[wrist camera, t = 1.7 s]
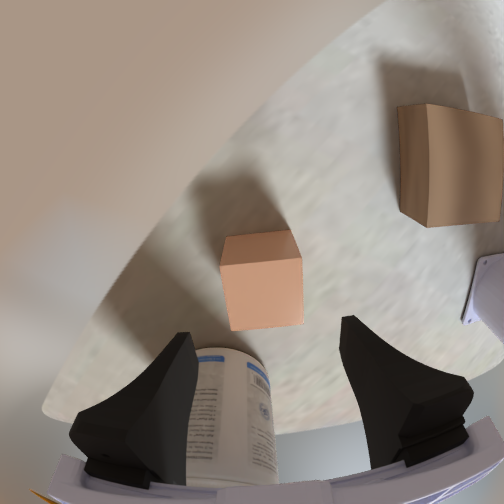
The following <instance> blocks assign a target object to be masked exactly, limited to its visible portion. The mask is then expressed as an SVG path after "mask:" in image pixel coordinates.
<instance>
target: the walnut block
mask: <svg viewBox="0 0 504 504" xmlns="http://www.w3.org/2000/svg"><path fill="white" fill-rule="evenodd" d="M397 112H398V124H399V140H400V174H401V185H400V212H402V213H403V214H405V215H407V216H408V217H410V218H412V219H413V220H415V221H417V222H418V223H420V224H421V225H423V226H425V227H426V228H430V227H441V226H452V225H463V224H475V223H486V222H498V221H499V219H500V211H501V202H502V190H503V172H504V136H503V120H502V119H499V118H495V117H491V116H488V115H483V114H479V113H475V112H471V111H466V110H461V109H456V108H451V107H445V106H439V105H433V104H417V105H408V106H400V107H397Z"/></svg>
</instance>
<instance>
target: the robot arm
mask: <svg viewBox="0 0 504 504" xmlns="http://www.w3.org/2000/svg"><path fill="white" fill-rule="evenodd" d="M479 320H482V321H483V322H484V323H485V324H486V325H487V326H488V328H489V329H490V330H491V331H492V332H493V333H494V334H495V335H496V336H497V337H498V339H499V340H500V341H501V342H502V343H503V344H504V253H501V254H495V255H490V256H485V257H481V258H479V259H478V262H477V266H476V271H475V275H474V280H473V284H472V288H471V292H470V295H469V299H468V303H467V306H466V310H465V313H464V316H463V319H462V324H463V325H467V324H470V323H473V322H476V321H479ZM339 351H340V355H341V359H342V362H343V366H344V369H345V371H346V374H347V377H348V379H349V382H350V384H351V387H352V389H353V392H354V394H355V397H356V399H357V402H358V405H359V408H360V412H361V416H362V420H363V424H364V429H365V434H366V439H367V444H368V450H369V456H370V464H371V470H369V471H365V472H361V473H357V474H353V475H349V476H344V477H339V478H334V479H329V480H323V481H320V480H312V481H302V482H293V483H284V484H271V485H252V486H232V487H226V488H207V487H191V486H186V452H187V435H188V424H189V418H190V413H191V408H192V404H193V399H194V395H195V390H196V386H197V381H198V371H199V361H198V358H197V354H196V351H195V348H194V345H193V341H192V338H191V334H190V332H181V333H177V334H176V335H175V337H174V338H173V339H172V340H171V341H170V342H169V344H168V345H167V346H166V347H165V348H164V350H163V351H162V352H161V353H160V354H159V355H158V357H157V358H156V359H155V360H154V361H153V362H152V363H151V364H150V365H149V366H148V367H147V368H146V369H145V370H144V371H143V372H142V373H141V374H140V375H139V376H138V377H137V378H136V379H135V380H133V381H132V382H131V383H130V384H128V385H127V386H126V387H124V388H123V389H122V390H120V391H119V392H117V393H116V394H114V395H113V396H111V397H109V398H108V399H106V400H104V401H102V402H101V403H99V404H97V405H95V406H92V407H90V408H88V409H86V410H83V411H81V412H79V413H78V414H77V417H76V419H75V421H74V423H73V425H72V428H71V429H70V432H69V436H70V438H71V440H72V442H73V443H74V444H75V445H76V446H77V447H78V448H79V449H80V450H81V451H82V452H83V453H84V454H85V455H86V456H87V457H88V459H87V462H84V461H82V460H80V459H78V458H74V457H71V456H68V455H65V454H62V455H61V457H60V459H59V462H58V464H57V467H56V469H55V472H54V474H53V477H52V479H51V482H50V485H49V487H48V490H47V494H48V495H50V496H51V497H53V498H54V499H56V500H57V501H59V502H60V503H62V504H438V503H440V502H442V501H444V500H445V499H447V498H449V497H451V496H453V495H455V494H457V493H458V492H460V491H462V490H464V489H466V488H467V487H469V486H471V485H472V484H474V483H476V482H477V481H479V480H481V479H482V478H484V477H485V476H486V475H487V474H488V473H489V472H491V471H492V470H493V469H494V468H495V467H496V466H497V465H498V464H499V463H500V462H502V461H503V460H504V441H503V440H502V438H501V436H500V434H499V432H498V430H497V429H496V427H495V425H494V423H493V422H492V420H491V418H490V417H489V416H486V417H484V418H483V419H481V420H479V421H477V422H475V423H473V424H472V425H470V426H469V427H468V428H466V429H465V428H464V426H463V424H464V423H465V419H464V417H463V414H464V412H465V411H466V409H467V408H468V406H469V405H470V403H471V401H472V399H473V394H474V392H473V390H472V388H471V387H470V385H469V383H468V382H467V381H466V379H465V378H464V377H462V376H458V375H454V374H450V373H446V372H443V371H440V370H437V369H434V368H431V367H429V366H426V365H424V364H422V363H420V362H418V361H416V360H414V359H412V358H410V357H408V356H406V355H405V354H403V353H401V352H400V351H398V350H397V349H395V348H394V347H392V346H391V345H389V344H388V343H387V342H385V341H384V340H383V339H381V338H380V337H379V336H378V335H376V334H375V333H374V332H373V331H372V330H370V329H369V328H368V327H367V326H366V325H365V324H363V323H362V322H361V321H360V320H359V319H358V318H357V317H355V316H354V315H352V316H346V317H342V322H341V334H340V345H339Z"/></svg>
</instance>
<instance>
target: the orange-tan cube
mask: <svg viewBox="0 0 504 504" xmlns="http://www.w3.org/2000/svg"><path fill="white" fill-rule="evenodd" d="M220 272H221V278H222V284H223V289H224V295H225V300H226V306H227V311H228V316H229V322H230V327H231V331H239V330H251V329H262V328H273V327H282V326H291V325H300V324H304V307H303V272H302V257H301V254H300V252H299V249H298V247H297V244H296V242H295V239H294V237H293V234H292V232H291V230H283V231H273V232H263V233H253V234H244V235H235V236H226V240H225V244H224V249H223V253H222V257H221V261H220Z"/></svg>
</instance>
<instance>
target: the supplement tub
mask: <svg viewBox="0 0 504 504" xmlns="http://www.w3.org/2000/svg"><path fill="white" fill-rule="evenodd" d="M195 351H196V354H197V358H198V361H199V371H198V381H197V386H196V390H195V395H194V399H193V404H192V408H191V413H190V418H189V424H188V435H187V452H186V486H191V487H207V488H226V487H232V486H252V485H271V484H279V477H278V466H277V455H276V444H275V433H274V423H273V412H272V402H271V391H270V382H269V376H268V373H267V371H266V370H265V368H264V367H263V366H262V365H261V364H260V363H259V362H258V361H257V360H256V359H254V358H253V357H251V356H249V355H248V354H245V353H243V352H241V351H238V350H234V349H229V348H203V349H198V350H195Z"/></svg>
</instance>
